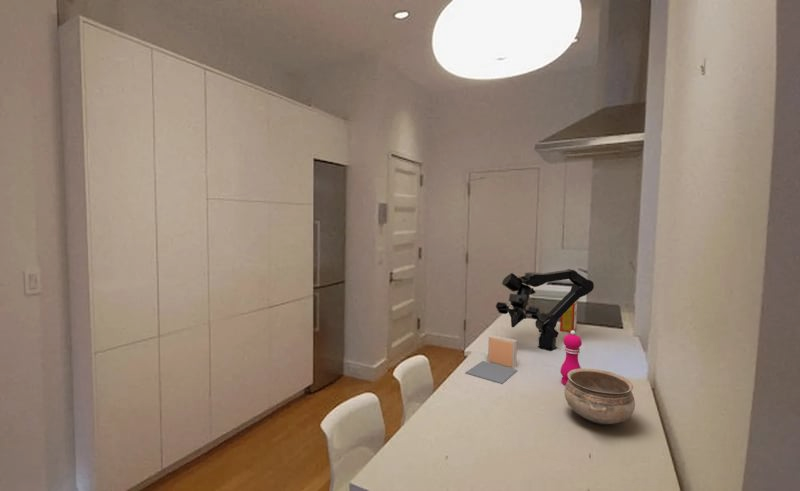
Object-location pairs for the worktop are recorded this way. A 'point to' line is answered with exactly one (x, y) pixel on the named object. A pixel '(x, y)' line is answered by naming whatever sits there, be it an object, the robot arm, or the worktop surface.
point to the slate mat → (491, 372)
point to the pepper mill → (570, 355)
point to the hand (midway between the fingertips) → (512, 326)
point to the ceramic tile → (502, 351)
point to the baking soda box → (569, 319)
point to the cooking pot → (599, 395)
